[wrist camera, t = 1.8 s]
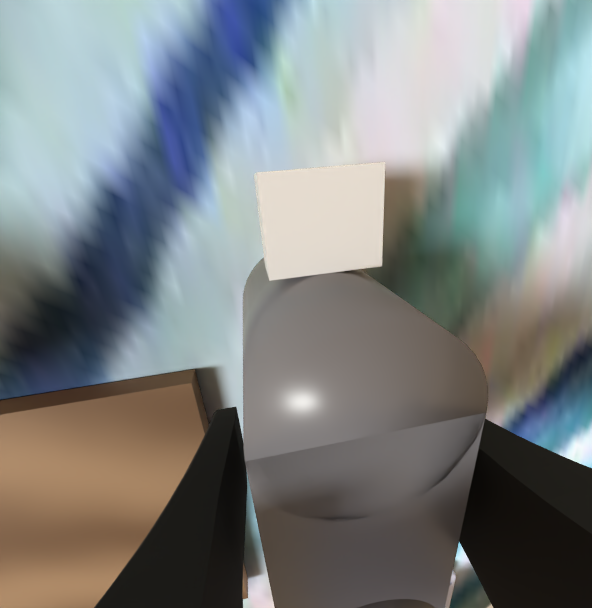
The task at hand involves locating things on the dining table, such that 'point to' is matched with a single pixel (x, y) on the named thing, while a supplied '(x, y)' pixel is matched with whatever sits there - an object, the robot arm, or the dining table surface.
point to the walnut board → (89, 483)
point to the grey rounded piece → (350, 405)
